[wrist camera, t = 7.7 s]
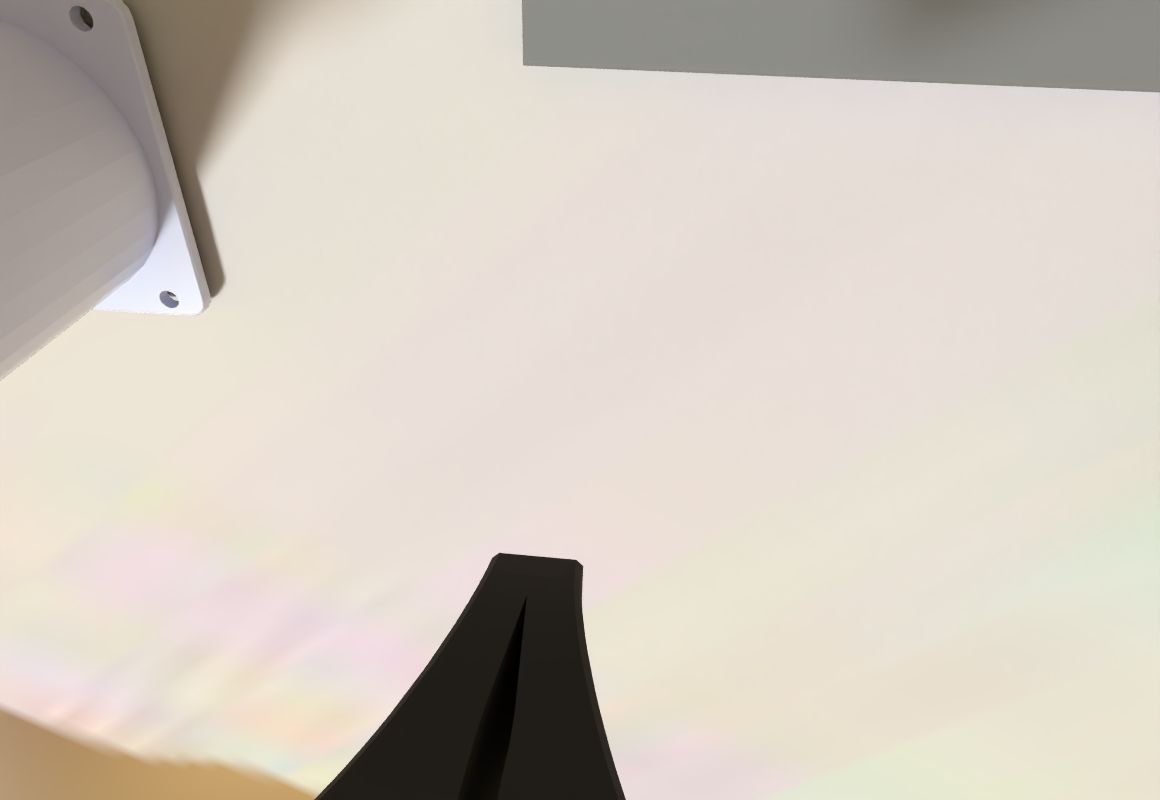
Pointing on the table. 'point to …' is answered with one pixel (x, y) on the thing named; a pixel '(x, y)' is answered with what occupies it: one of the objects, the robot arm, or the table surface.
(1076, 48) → the mat
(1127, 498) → the table surface
